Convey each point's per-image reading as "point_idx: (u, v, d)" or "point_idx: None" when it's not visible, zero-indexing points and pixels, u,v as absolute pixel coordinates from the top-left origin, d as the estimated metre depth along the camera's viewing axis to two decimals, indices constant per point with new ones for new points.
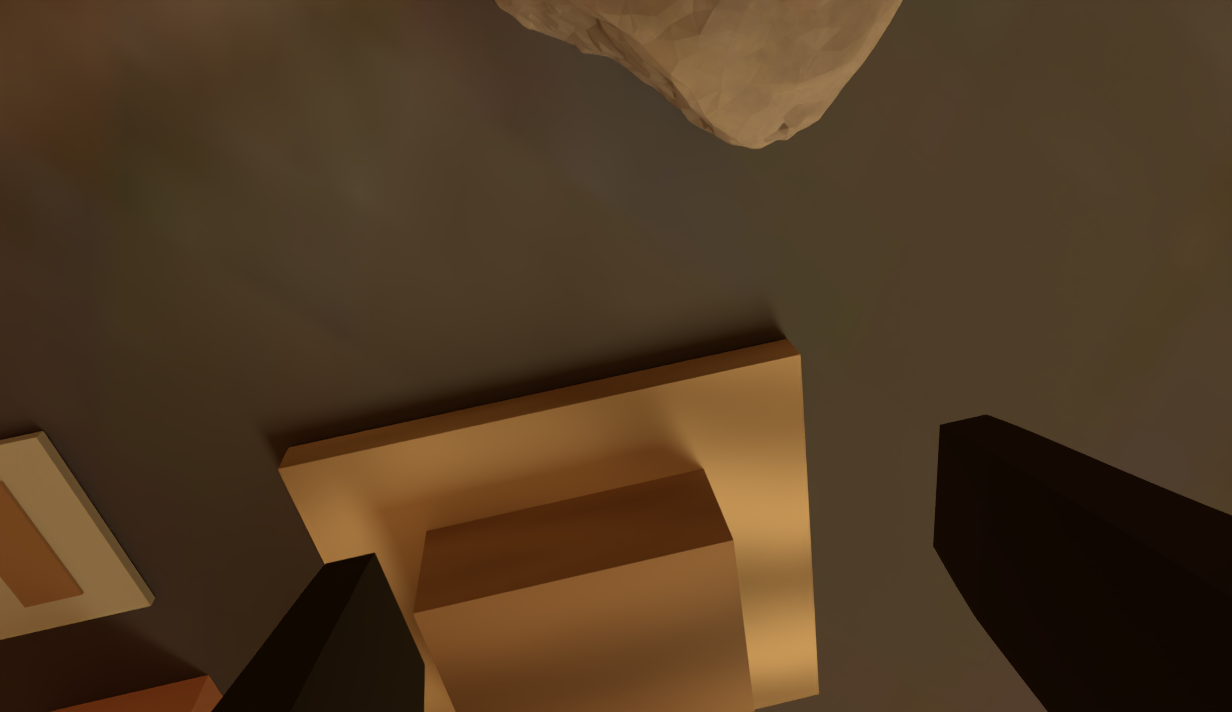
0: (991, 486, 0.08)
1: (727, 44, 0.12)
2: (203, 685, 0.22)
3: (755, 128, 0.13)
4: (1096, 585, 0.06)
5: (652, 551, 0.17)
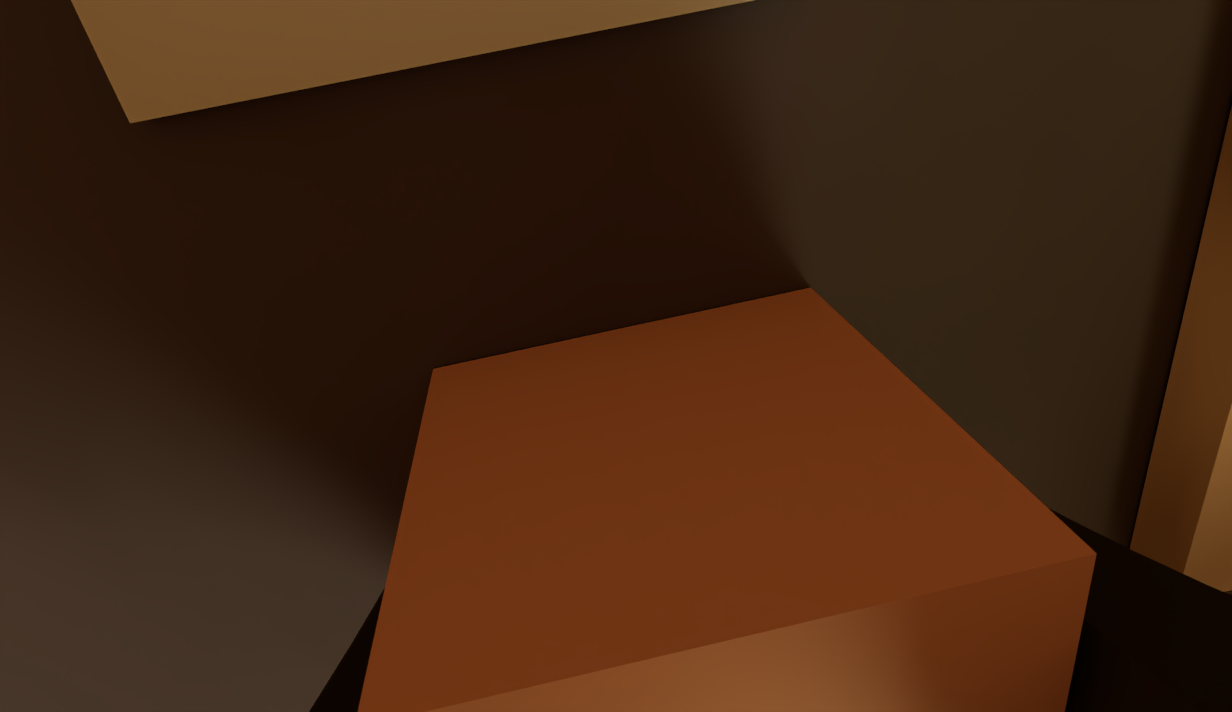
0: None
1: None
2: (823, 301, 0.09)
3: None
4: None
5: None
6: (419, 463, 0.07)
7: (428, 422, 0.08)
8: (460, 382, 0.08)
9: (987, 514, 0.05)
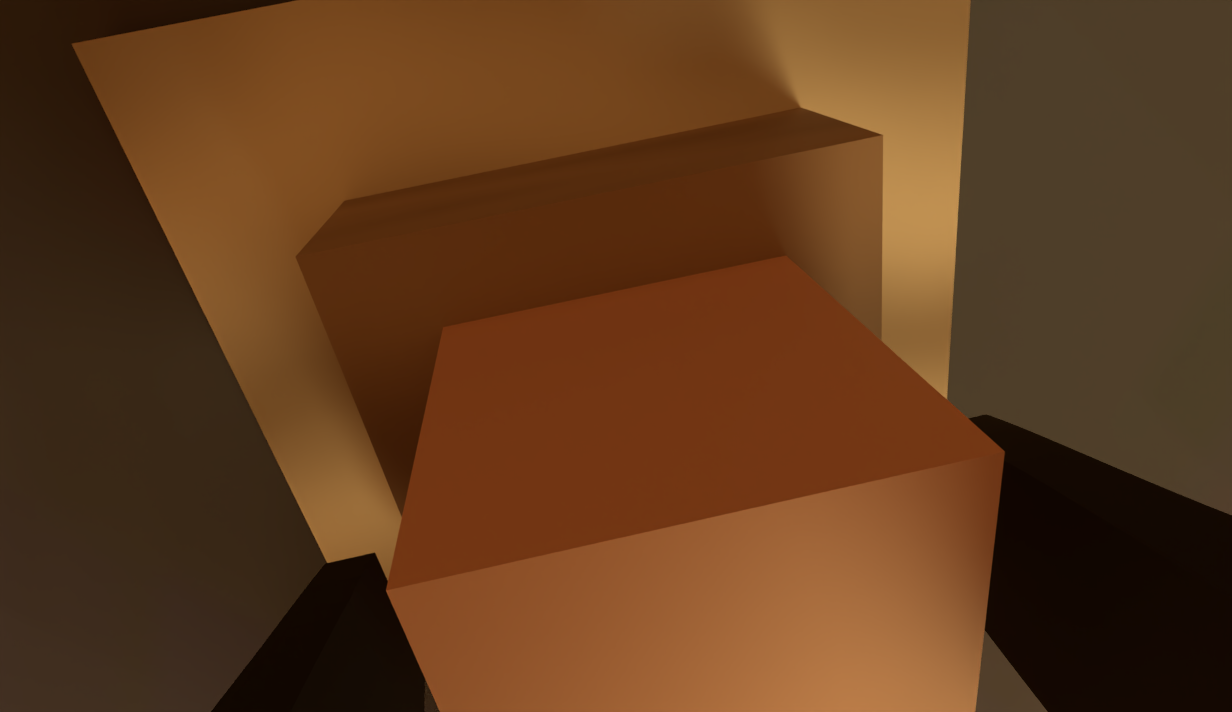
0: None
1: None
2: (796, 267, 0.10)
3: None
4: (1096, 584, 0.06)
5: (733, 161, 0.10)
6: (433, 401, 0.08)
7: (440, 369, 0.09)
8: (468, 338, 0.09)
9: (919, 426, 0.06)
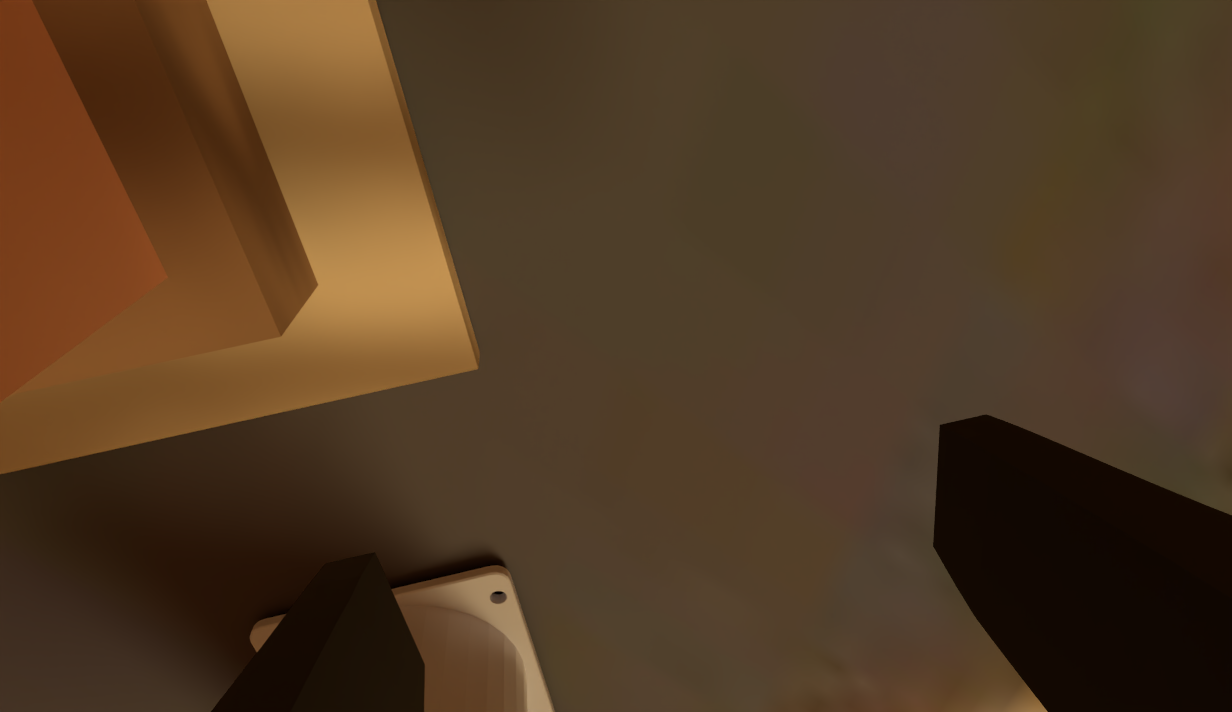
0: (991, 486, 0.08)
1: None
2: None
3: None
4: (1096, 584, 0.06)
5: None
6: None
7: None
8: None
9: None
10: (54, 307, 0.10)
